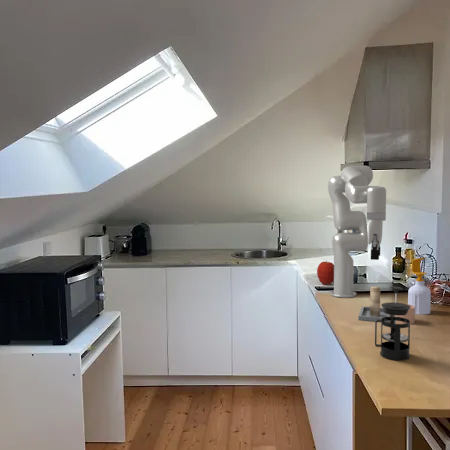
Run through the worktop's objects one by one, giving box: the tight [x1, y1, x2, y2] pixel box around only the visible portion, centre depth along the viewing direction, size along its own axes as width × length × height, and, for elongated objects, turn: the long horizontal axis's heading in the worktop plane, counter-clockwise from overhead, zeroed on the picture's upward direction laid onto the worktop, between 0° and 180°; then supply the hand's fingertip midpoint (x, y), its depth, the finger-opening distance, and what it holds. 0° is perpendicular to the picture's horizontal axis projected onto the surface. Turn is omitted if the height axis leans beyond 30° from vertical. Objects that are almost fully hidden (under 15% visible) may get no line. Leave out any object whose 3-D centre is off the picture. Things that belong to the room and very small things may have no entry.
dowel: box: [369, 286, 381, 317], centre depth 204 cm, size 4×4×12 cm
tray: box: [357, 305, 391, 323], centre depth 204 cm, size 16×12×2 cm
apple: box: [316, 260, 334, 285], centre depth 270 cm, size 10×10×14 cm
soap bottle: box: [407, 257, 432, 316], centre depth 209 cm, size 9×9×25 cm
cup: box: [396, 303, 416, 325], centre depth 196 cm, size 7×7×7 cm
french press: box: [374, 286, 411, 362], centre depth 160 cm, size 12×9×23 cm
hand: (375, 257), depth 202 cm, fingers open, 9 cm apart
